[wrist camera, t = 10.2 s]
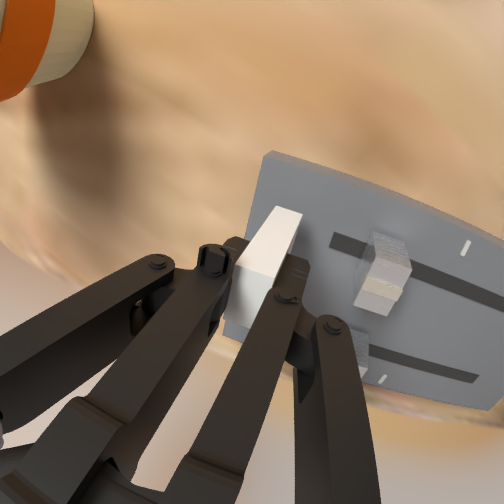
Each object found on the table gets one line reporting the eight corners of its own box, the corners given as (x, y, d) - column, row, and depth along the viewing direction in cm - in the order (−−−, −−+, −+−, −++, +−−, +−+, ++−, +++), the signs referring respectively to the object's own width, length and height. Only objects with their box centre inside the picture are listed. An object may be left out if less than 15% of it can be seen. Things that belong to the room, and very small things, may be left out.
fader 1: (369, 334, 20) (368, 370, 17) (351, 362, 22) (348, 397, 19) (341, 325, 20) (337, 361, 17) (325, 354, 22) (319, 389, 19)
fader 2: (404, 242, 17) (413, 271, 14) (383, 284, 18) (387, 318, 15) (372, 229, 17) (375, 257, 14) (353, 273, 18) (352, 306, 16)
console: (571, 279, 15) (582, 293, 13) (484, 395, 22) (488, 411, 20) (271, 150, 19) (262, 156, 17) (230, 319, 26) (221, 336, 24)
